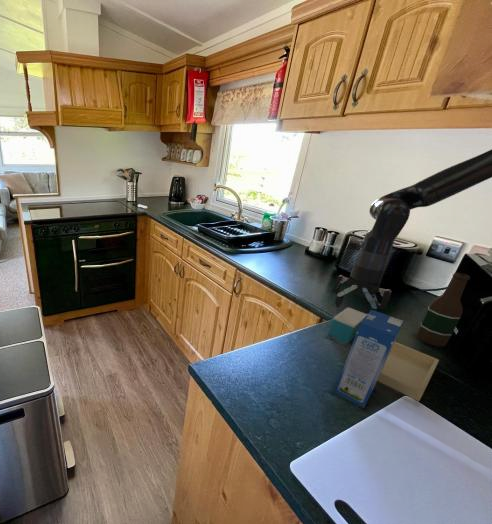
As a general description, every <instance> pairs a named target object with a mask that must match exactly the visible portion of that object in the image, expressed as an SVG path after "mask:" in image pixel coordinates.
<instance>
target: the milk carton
mask: <svg viewBox="0 0 492 524" xmlns="http://www.w3.org/2000/svg"><path fill="white" fill-rule="evenodd" d="M369 311H370V310H369ZM369 311H368V313H366V314H367V316H366V317H365V318H364V319H363V321H362V322H361V323H360V326H359V329H358V331H357V334H356V336H355V338H354V339H353V342H352V345H351V347H350V350H349V352H348V355H347V357H346V360H345V363H344V365H343V368H342V370H341V372H340V375H339V378H338V379H337V380H338V381H337V384H336V386H335V388H334V391H333V392H334V393H335V394H336V395H337V394H338V395H339V396H340V397H342V398H344V399H346V400H347V401H349V402H352V403H354V404H355V405H357V406H359V407H361V408H363V409H365V407H366V405H367V403H368V401H369V399H370V398H371V395H372V393H373V391H374V388H375V387H376V385H377V382H378V381H377V380H378V378H379V376H380V373H381V371H382V369H383V367H384V364H385V362H386V360H387V358H388V355H389V353H390V351H391V349H392V346H393V344H394V342H396V340H397V338H398V335H399V333H400V330H402V329H401V328H402V326H403V324H404V322H405V321H404V319H403V320H402V319H400V318H397V317H394V316H391V315H388V314H385V313H382V312H379V311H378V310H377V311H374V310H371V311H370V312H369Z"/></svg>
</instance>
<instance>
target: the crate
mask: <svg viewBox="0 0 492 524" xmlns="http://www.w3.org/2000/svg"><path fill="white" fill-rule="evenodd" d="M439 362H440V359H438V358H436V357H433V356H431V355H428V354H426V353H424V352H421V351H419V350H417V349H414V348H411V347H409V346H408V345H407V346H406V345H404V344H401V343H399V342H397V341H395V342H394V344H393V346H392V349H391V351H390V353H389V355H388V358H387V360H386V362H385V364H384V367H383V369H382V371H381V373H380V376H379V378H378V380H377V382H379V383H381V384H383V385H385V386H387V387H389V388H391V389H393V390H395V391H397V392H399V393H401V394H403V395H404V396H407V397H409V398H410V399H413V400H414V401H416V402H420V400H421V398H422V397H423V396H424V393H425V391H426V389H427V387H428V384H429V383H430V380H431V378H432V377H433V374H434V372H435V370H436V368H437V366H438V364H439Z"/></svg>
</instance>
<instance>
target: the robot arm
mask: <svg viewBox="0 0 492 524" xmlns="http://www.w3.org/2000/svg"><path fill="white" fill-rule="evenodd" d="M490 179H492V148H491V149H488V150H486V151H485V152H483V153H480V154H478V155H476V156H473V157H471V158H469V159H466V160H464V161H461V162H458V163H456V164H454V165H451V166H449V167H447V168H444V169H442V170H440V171H437V172H436V173H433V174H432V175H429V176H428V177H425V178H424V179H422V180H419V181H418V182H416V183H414V184H411V185H409V186H406V187H404V188H400V189H398V190H394V191H392V192H390V193H387V194H384V195H383V196H381V197H379V198H377V199H376V200H375V201H373V202H372V203H371V205H370V207H369V214H370V217H372V219H374V220H375V222H374V224H373V226H372V228H371V229H370V230H368V231H366V232H365V235H364V237H363V239H362V242H361V246H360V248H359V250H358V252H357V255H356V257H355V259H354V262H353V265H352V269H351V272H350V275H349V277H346V276H344V275H343V274H340V275H338V276H336V279H335V282H334V284H333V287H332V289H331V292H332V293H333V294H335V295H336V299H335V302H334V304H335V307H336V308H340V307H341V306H342V304H343V301H344V298H345V295H347V294H348V293H351V294H352V295H354V296H359V297H360V298H363V299H364V298H366V299H367V301H368V303H369V304H370V307H369V308H370V309H369V311H368V313H369V312H370V311H371V310H374V311H377V312H378V310H381V311H382V310H385V309H387V308H388V305H389V301H390V298H391V295H392V289H391V288H388V289H386V288H381V286H380V284H381V282H382V279H383V276H384V274H385V272H386V269H387V266H388V263H389V260H390V255H391V251H392V249H393V246H394V243H395V240H396V239H397V237H398V236H399V235H400V233H401V232H402V231H403V229H404V227H405V225H406V224H407V222H408V220H409V218H410V215H411V210H414V209H417V208H426V207H430V206H432V205H433V206H434V205H435V204H437V203H439V202H442V201H444V200H447V199H449V198H451V197H453V196H455V195H458V194H459V193H461V192H463V191H466V190H468V189H470V188H471V187H475V186H476V185H479V184H480V183H483V182H485V181H487V180H490ZM343 283H346V285H347V286H348V287H347V288H345V289H343V290H341V289H340V288H341V286H342V284H343ZM377 293H380V297H382V298H381V301H380V303H379V302H378V299H377V295H376V294H377Z"/></svg>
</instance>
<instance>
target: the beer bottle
mask: <svg viewBox="0 0 492 524" xmlns="http://www.w3.org/2000/svg"><path fill="white" fill-rule="evenodd" d="M470 279H471V276H470V275H468V274H466V273H462V272H454V273H453V274H452V278H451V279H450V282H449V283H448V285H447V287H446V288H445V290H444V291H443V293H442V294H440V295H438V296H436V297H435V298H433V299H432V300H431V301H430V303H429V305H428V306H427V309H426V311H425V312H424V314H423V317H422V318H421V321H420V323H419V325H418V327H417V330H416V333H415V335H416V338H417V339H418V340H420V341H421V342H423V343H425V344H428V345H431V346H433V347H439V348H440V347H442V348H444V347H446V346H447V344H448V343H449V340H450V339H451V336H452V335H453V333H454V331H455V329H456V327H457V325H458V324H459V321H460V319H461V317H462V315H463V311H464V309H463V305H462V302H461V299H462V295H463V293H464V291H465V288H466V286H467V283H468V281H470Z"/></svg>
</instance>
